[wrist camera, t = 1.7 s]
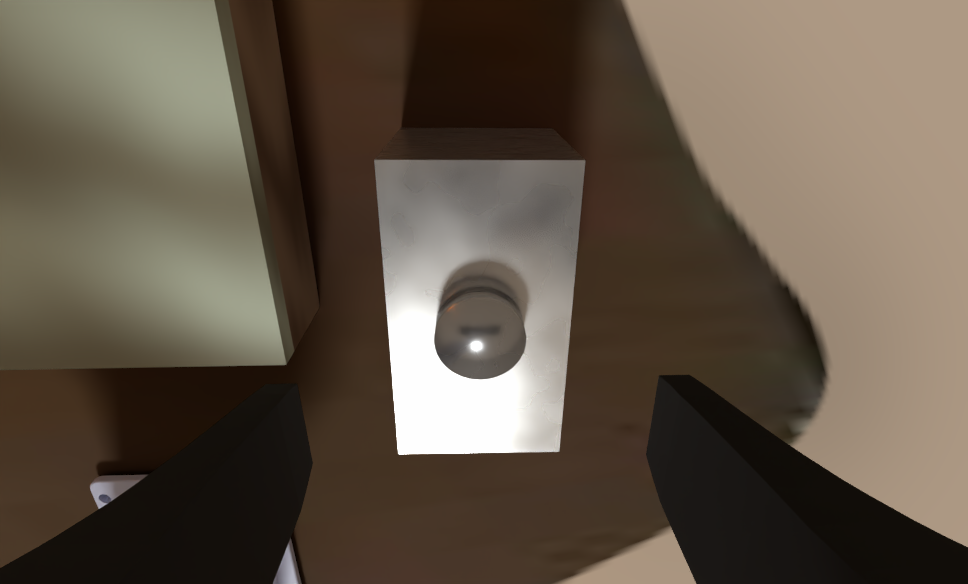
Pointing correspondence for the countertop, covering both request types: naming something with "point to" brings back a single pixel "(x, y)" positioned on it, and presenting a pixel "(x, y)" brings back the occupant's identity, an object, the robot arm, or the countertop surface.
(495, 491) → the countertop surface
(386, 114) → the countertop surface
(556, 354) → the housing
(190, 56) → the stand
